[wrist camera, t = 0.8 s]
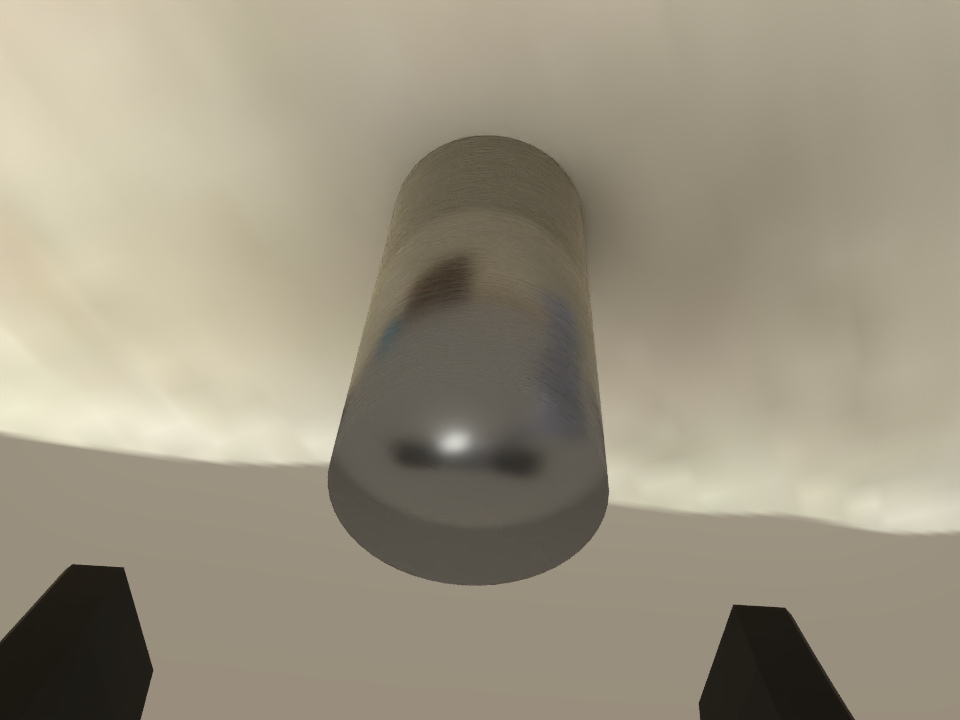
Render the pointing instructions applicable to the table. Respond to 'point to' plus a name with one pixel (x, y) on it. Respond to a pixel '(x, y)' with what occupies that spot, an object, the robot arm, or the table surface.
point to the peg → (476, 376)
